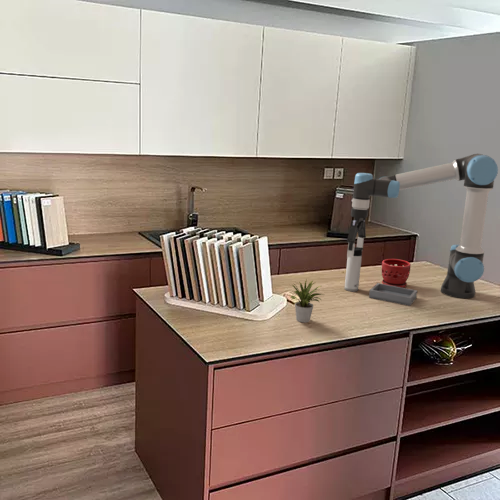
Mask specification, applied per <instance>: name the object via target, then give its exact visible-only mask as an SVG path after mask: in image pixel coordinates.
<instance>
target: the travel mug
mask: <svg viewBox="0 0 500 500" xmlns="http://www.w3.org/2000/svg"><path fill="white" fill-rule="evenodd" d="M363 250H364V247H363V248H359V247H357V246H355V247H354V255H353V258H350V257H346V259H347V260H346V270H345V278H344V279H345V281H344V290H345V291H348V292H358V291H359V286H360V276H361V267H362V259H363V258H362V256H363Z"/></svg>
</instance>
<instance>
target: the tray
mask: <svg viewBox="0 0 500 500" xmlns="http://www.w3.org/2000/svg"><path fill="white" fill-rule="evenodd" d="M368 293H369V294H368V295H369V296H368V298H369V299H373V300H378V301H379V300H380V301H383V302H388V303H394V304H398V305H404V306H408V307H410V306H412V304H413V303H414V302H415V300H416V299H417V297H418V295H417V294H418V290H416V289H412V288H406V287H404V288H401V287H396V286H391V285H385V284H383V283H380V282H377V283H375V284H374V286H372V288H370V289H369V292H368Z"/></svg>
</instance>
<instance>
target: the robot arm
mask: <svg viewBox="0 0 500 500" xmlns="http://www.w3.org/2000/svg"><path fill="white" fill-rule="evenodd" d="M498 172H499V167H498V163H497V162H496V161H495V159H494V158H492V157H491V156H489V155H487V154H482V153H474V154H470V155H467V156H463V157H459V158H456V159H454V160H453V161H452V162H448V163H444V164H439V165H434V166H429V167H425V168H420V169H416V170H412V171H411V170H410V171H406V172H402V173H397V174H392V175H384V176H381V177H379V178H374V176H373V174H372V173H368V172H357V173H356V174H355V176H354V183H353V192H352V199H351V202H352V203H351V207H352V208H351V210H350V216H351V217H352V218H354V219H353V220H351V223H350V228H349V232H348V235H347V238H346V239H347V240H346V244H347V243H348V244H347V252H346V258H348V257H350V258H353V255H354V247H359V248H363V249H364V239H366V237H367V235H366V234H367V233H366V232H367V231H366V219H367V218H368V216H369V208H370V201H371V196H372V197H380V198H382V197H383V198H388V199H398V197H399V195H400V191H404V190H407V189H408V190H409V189H414V188H419V187H423V186H430V185H434V184H437V183H443V182H444V183H445V182H447V181H449V182H450V181H452V180H454V181H455V180H456V181H458V182H461V181H463V187H464V189H465V190H466V195H465V203H464V211H463V216H462V217H463V218H462V227H461V233H460V234H461V235H460V240H459V241H460V242H459V244H457V243H456V244H455V243H454V244H452V245H451V247H450V249H449V258H448V264H447V273H446V276H445V278H444V280H443V282H442V284H441V286H440V292H441V293H442V294H443V295H446V296H448V297H449V296H450V297H453V298H457V299H472V298H475V297H476V287H475V282H477V281H478V280H480V279H481V277H483V275H484V272H485V266H484V265H485V264H484V255H485V251H484V249H483V247H482V242H483V236H484V228H485V222H486V212H487V205H488V199H489V193H490V191H492V190H493V189H494V184H495V179H496V178H497V176H498ZM357 236H358V237H357ZM356 238H357V240H356ZM355 241H356V243H355ZM355 245H356V246H355Z"/></svg>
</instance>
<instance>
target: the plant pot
mask: <svg viewBox="0 0 500 500" xmlns="http://www.w3.org/2000/svg"><path fill="white" fill-rule="evenodd" d="M411 266H412V265H411V263H410V261H407V260H403V259H399V258H386V259H383V260H382V262H381V275H382V277H381V278H383V279H382V280H381V284H385V285H391V286H396V287H401V288H406V287H407V285H408V283H407V280H408V279H409V277H410V272H411Z"/></svg>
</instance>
